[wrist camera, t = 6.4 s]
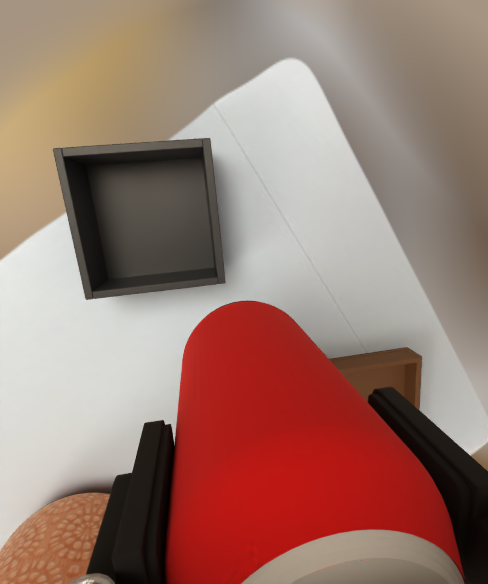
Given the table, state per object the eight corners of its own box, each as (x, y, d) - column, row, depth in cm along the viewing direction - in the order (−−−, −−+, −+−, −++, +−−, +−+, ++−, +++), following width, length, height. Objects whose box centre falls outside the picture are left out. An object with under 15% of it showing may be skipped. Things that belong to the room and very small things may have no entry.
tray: (407, 347, 38) (422, 356, 35) (403, 443, 41) (417, 458, 38) (279, 366, 36) (285, 377, 33) (286, 465, 39) (292, 483, 37)
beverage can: (284, 278, 16) (500, 446, 5) (312, 384, 18) (523, 698, 6) (165, 317, 16) (83, 604, 4) (206, 421, 17) (224, 829, 6)
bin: (207, 151, 30) (210, 137, 24) (220, 271, 33) (225, 283, 27) (79, 160, 28) (52, 148, 23) (104, 284, 31) (85, 299, 26)
